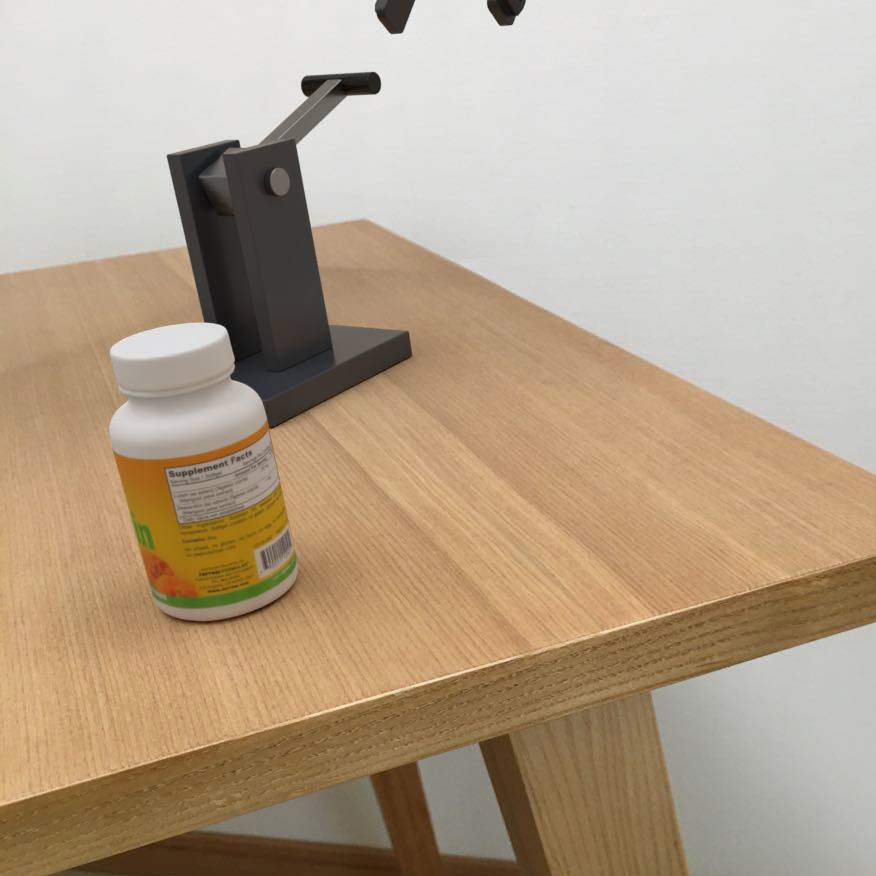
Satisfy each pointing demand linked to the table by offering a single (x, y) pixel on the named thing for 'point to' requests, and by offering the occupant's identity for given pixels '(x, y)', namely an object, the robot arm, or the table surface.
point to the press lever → (294, 124)
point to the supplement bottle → (199, 475)
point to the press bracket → (271, 280)
